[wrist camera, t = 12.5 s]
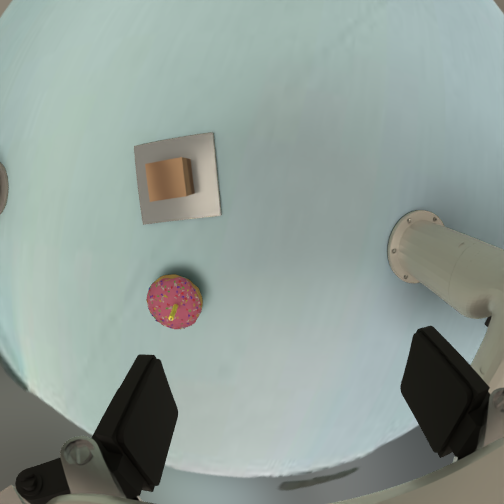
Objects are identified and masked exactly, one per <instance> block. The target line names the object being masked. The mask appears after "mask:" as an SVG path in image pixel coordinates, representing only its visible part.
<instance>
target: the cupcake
mask: <svg viewBox="0 0 504 504" xmlns="http://www.w3.org/2000/svg"><path fill="white" fill-rule="evenodd" d="M147 303H148V309H149V310H150V313H151V314H152V316H153V317H154V318H155V319H156V320H157V321H158V322H160V323H161V324H162V325H163V326H166V327H169V328H172V329H181V328H184V329H185V327H188V326H192V324H194V323H195V322H196V320H197V318H198V316H199V315H200V313H201V310H202V304H203V301H202V296H201V294H200V291H199V289H198V287H197V286H195V285H194V284H193V283H192V282H191V281H190V280H189V279H187V278H185V277H181V276H178V275H175V274H171V275H164V276H161V277H160V278H158V279H157V280H156V281H155V282H154V283H153V284H152V285H151V286H150V289H149V291H148V294H147Z"/></svg>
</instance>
